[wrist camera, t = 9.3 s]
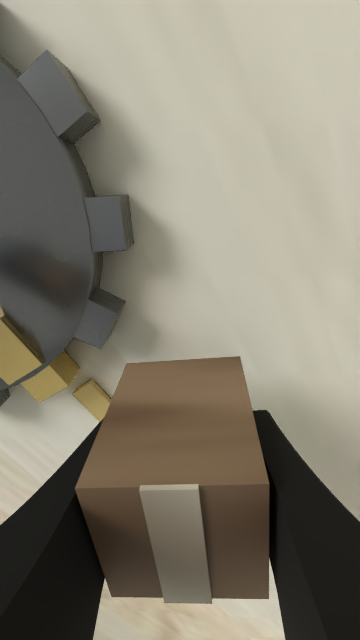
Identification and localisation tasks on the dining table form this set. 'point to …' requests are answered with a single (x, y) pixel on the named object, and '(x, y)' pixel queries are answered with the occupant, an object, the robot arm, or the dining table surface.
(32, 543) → the robot arm
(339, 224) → the dining table surface
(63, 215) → the sprocket
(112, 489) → the walnut block
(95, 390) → the pointer
